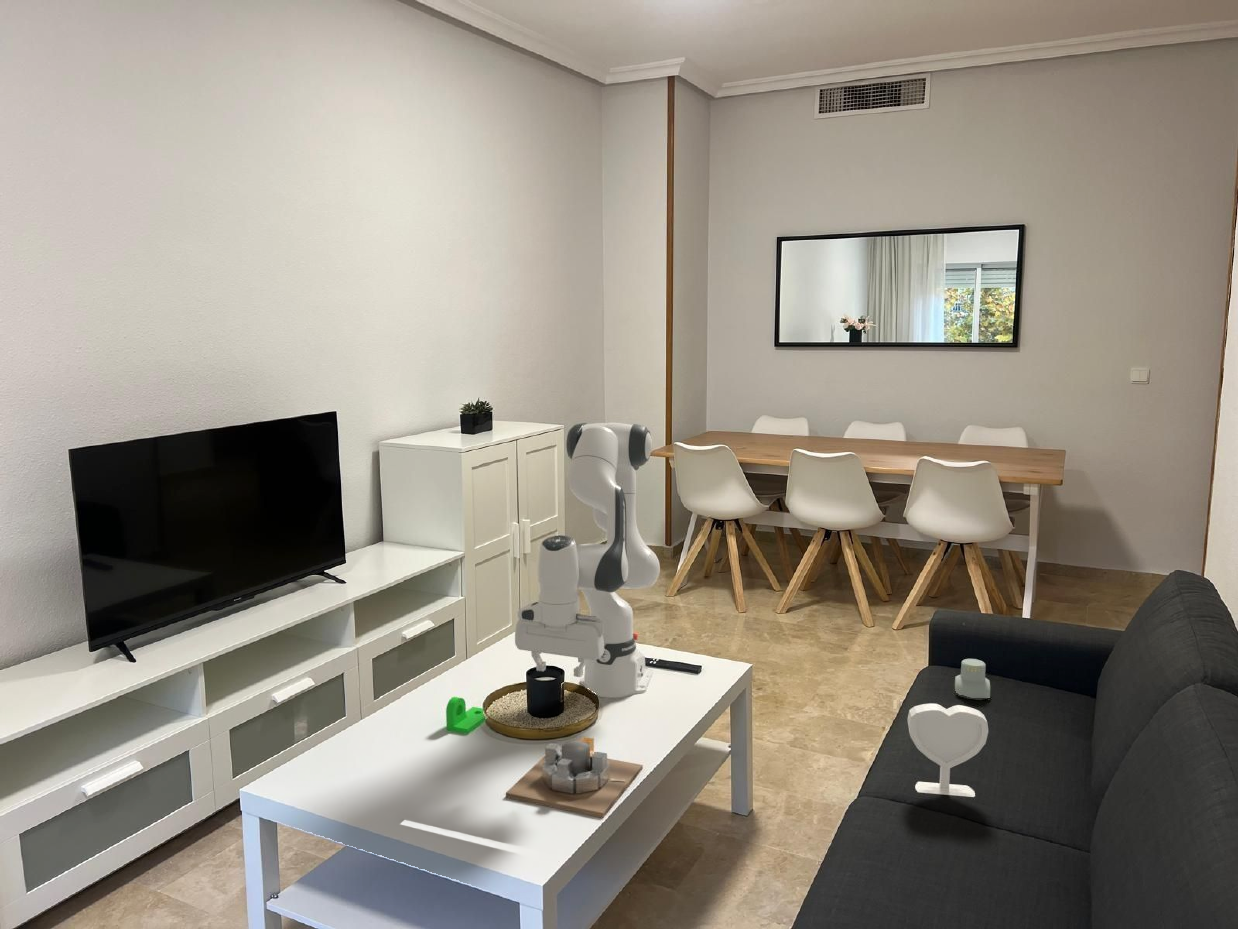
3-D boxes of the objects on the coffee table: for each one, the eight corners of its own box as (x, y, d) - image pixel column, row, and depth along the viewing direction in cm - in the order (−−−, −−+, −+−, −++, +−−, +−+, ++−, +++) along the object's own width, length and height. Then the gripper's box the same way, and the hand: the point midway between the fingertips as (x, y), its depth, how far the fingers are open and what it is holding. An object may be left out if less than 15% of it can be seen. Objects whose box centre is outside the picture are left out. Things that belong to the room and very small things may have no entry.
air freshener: (954, 689, 247) (956, 653, 246) (987, 693, 245) (989, 657, 243) (955, 705, 237) (957, 668, 236) (989, 709, 235) (992, 671, 233)
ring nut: (561, 758, 206) (561, 732, 205) (617, 768, 201) (617, 742, 200) (533, 785, 194) (532, 758, 193) (592, 797, 188) (592, 770, 188)
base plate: (552, 752, 212) (552, 719, 210) (642, 769, 203) (642, 734, 202) (505, 797, 191) (504, 761, 190) (603, 818, 183) (603, 780, 182)
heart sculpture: (907, 792, 193) (910, 710, 190) (904, 780, 198) (907, 700, 195) (985, 798, 190) (990, 715, 187) (980, 786, 195) (985, 705, 192)
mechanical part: (468, 737, 220) (467, 705, 219) (446, 733, 223) (445, 701, 221) (493, 718, 231) (493, 687, 230) (473, 714, 234) (472, 684, 232)
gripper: (608, 613, 199) (609, 674, 201) (524, 603, 206) (525, 662, 208) (597, 621, 193) (597, 684, 195) (510, 610, 201) (512, 671, 202)
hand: (559, 673), depth 202 cm, fingers open, 8 cm apart
